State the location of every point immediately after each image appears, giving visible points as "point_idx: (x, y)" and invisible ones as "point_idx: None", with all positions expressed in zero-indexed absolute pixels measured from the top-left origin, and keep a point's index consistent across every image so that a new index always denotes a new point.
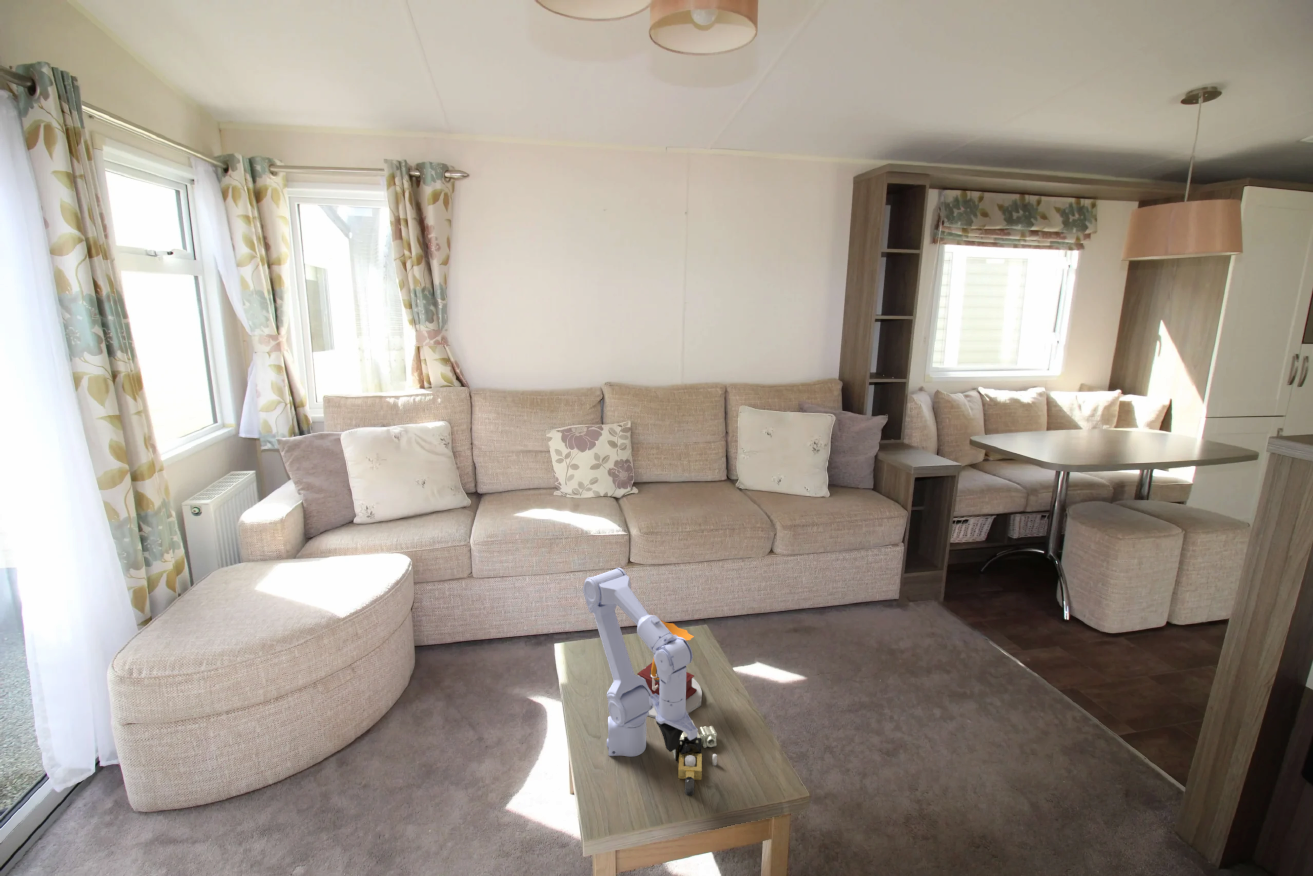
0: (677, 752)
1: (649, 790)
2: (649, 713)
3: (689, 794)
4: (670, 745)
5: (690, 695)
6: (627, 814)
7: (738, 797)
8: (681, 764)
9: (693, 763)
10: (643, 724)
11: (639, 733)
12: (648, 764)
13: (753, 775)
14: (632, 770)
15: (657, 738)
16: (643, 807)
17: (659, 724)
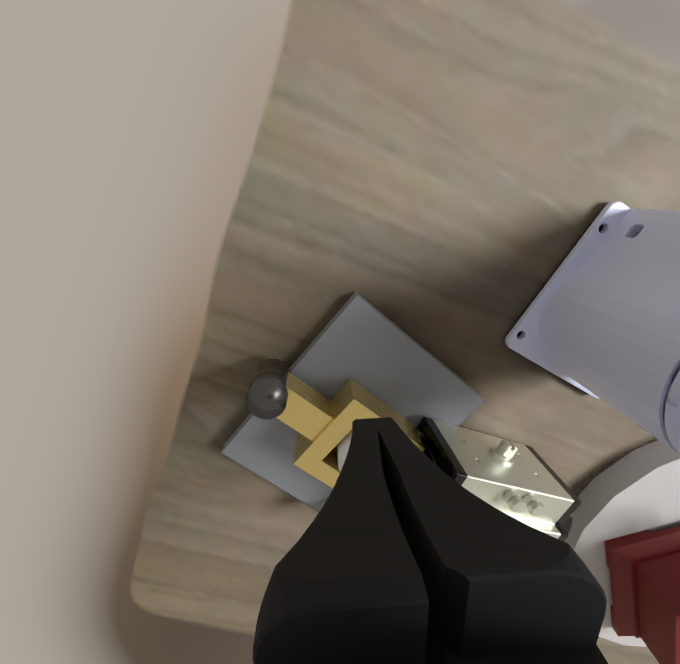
0: (433, 443)
1: (385, 262)
2: (670, 465)
3: (257, 368)
4: (349, 455)
5: (614, 609)
6: (337, 108)
7: (191, 485)
8: None
9: (338, 461)
10: (655, 416)
11: (624, 367)
12: (488, 330)
13: (240, 560)
14: (508, 262)
15: (559, 423)
16: (329, 192)
17: (498, 577)
